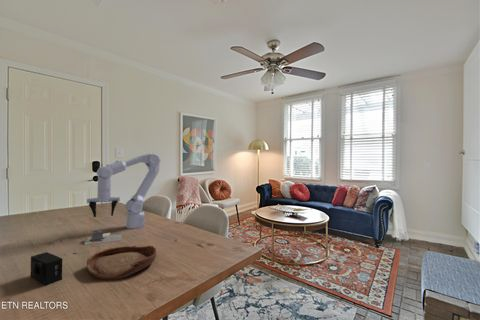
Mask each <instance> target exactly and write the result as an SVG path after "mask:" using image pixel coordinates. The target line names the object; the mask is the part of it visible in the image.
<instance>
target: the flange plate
mask: <svg viewBox="0 0 480 320" xmlns="http://www.w3.org/2000/svg"><path fill="white" fill-rule="evenodd" d="M122 236H123V235H122V233H120V234H110V235H108V236H103V239H101V240H100V241H92V239H91V236H90V237H88V238H87V239H86V241H85V242H84V245H92V244H93V245H94V244H102V243H109V242H110V243H112V242H119V241H121V239H122Z"/></svg>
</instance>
